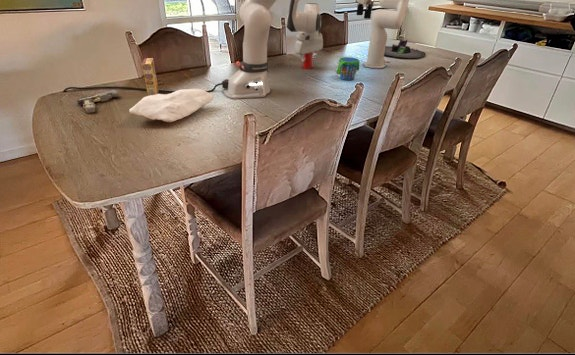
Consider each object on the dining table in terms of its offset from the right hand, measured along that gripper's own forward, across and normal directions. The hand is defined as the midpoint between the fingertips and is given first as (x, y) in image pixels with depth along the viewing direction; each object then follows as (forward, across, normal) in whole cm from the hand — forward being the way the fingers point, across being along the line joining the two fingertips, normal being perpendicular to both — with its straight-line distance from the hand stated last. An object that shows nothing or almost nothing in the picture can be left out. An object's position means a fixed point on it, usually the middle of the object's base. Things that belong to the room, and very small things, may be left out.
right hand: (363, 16), depth 180 cm
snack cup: (+32, -2, -4) cm, 32 cm away
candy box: (+32, +12, -103) cm, 108 cm away
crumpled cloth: (+32, +35, -94) cm, 105 cm away
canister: (+32, -25, -20) cm, 45 cm away
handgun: (+32, +20, -124) cm, 129 cm away
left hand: (+27, -25, -19) cm, 41 cm away
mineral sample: (+32, -54, +54) cm, 83 cm away
